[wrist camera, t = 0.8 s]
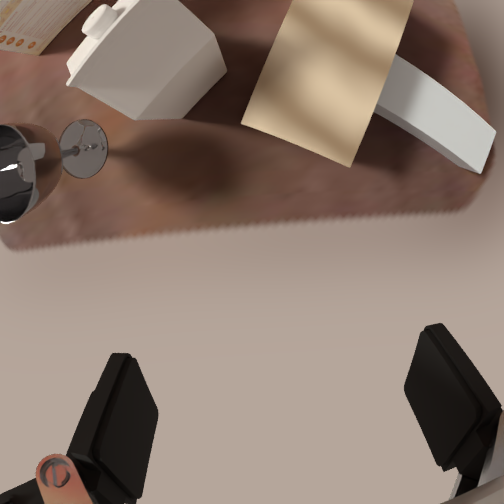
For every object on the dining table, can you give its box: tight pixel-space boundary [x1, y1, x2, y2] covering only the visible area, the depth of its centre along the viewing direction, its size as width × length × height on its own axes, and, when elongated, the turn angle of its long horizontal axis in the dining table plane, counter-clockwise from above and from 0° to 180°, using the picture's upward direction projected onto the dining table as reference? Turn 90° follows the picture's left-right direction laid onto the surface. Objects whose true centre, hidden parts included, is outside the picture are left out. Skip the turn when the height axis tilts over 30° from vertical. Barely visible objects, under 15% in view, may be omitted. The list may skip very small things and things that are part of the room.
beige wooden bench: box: [241, 0, 414, 168], centre depth 24 cm, size 20×9×10 cm, turn 159°
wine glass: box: [0, 119, 108, 223], centre depth 24 cm, size 8×8×15 cm
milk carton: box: [66, 0, 227, 120], centre depth 20 cm, size 7×7×19 cm
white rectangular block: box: [373, 54, 496, 174], centre depth 28 cm, size 6×16×5 cm, turn 69°
